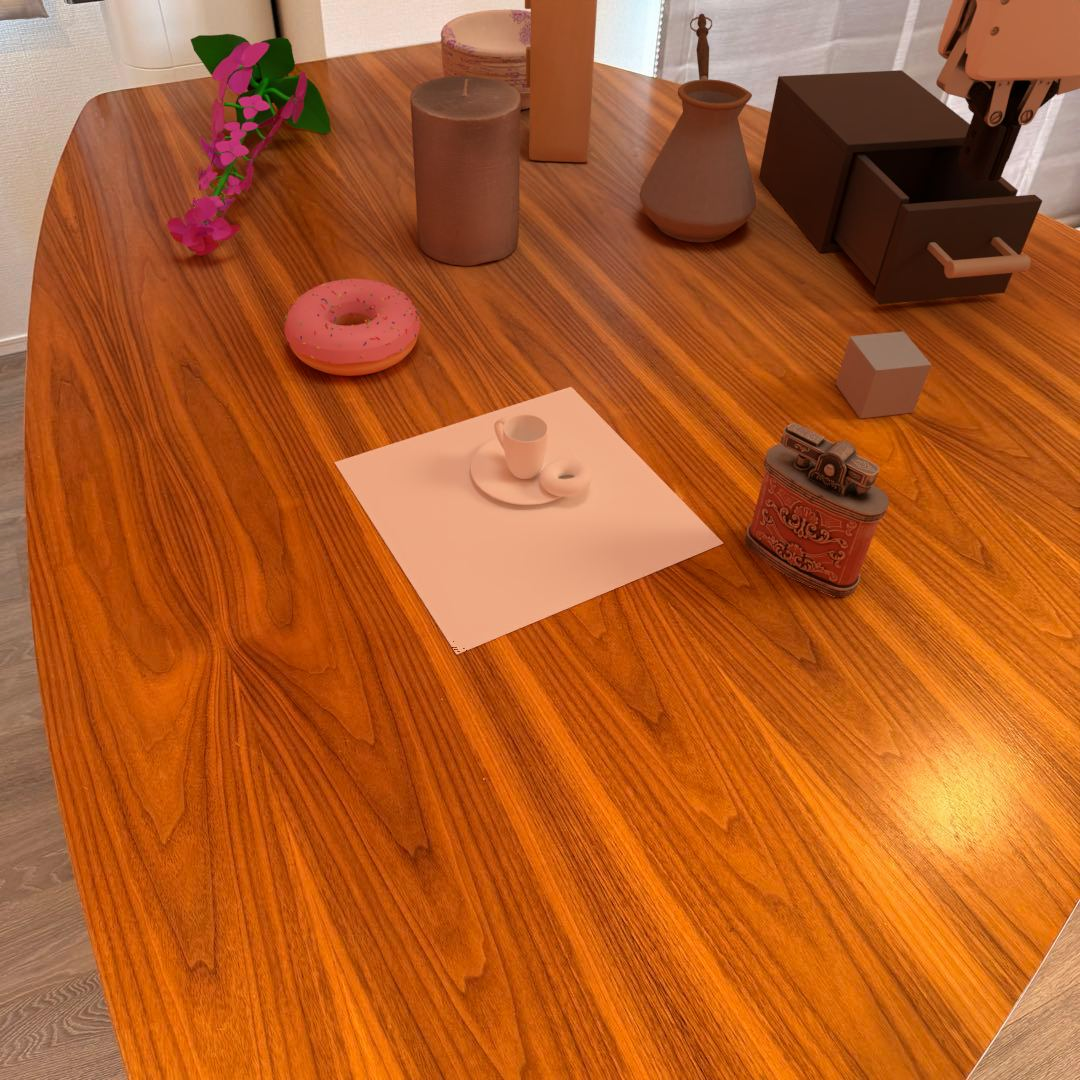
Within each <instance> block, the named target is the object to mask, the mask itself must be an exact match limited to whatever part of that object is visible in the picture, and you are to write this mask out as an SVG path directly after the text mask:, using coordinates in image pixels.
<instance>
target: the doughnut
mask: <svg viewBox="0 0 1080 1080" xmlns="http://www.w3.org/2000/svg"><path fill="white" fill-rule="evenodd" d="M419 315H420V314H419V310H418V309H416V307H415V304H414V302H413V301H412V300H411V299H410V297H408V295H406V292H403V291H401V289H398V288H397V287H395V286H393V285H390V284H388V283H385V282H383V281H382V280H380V281H378V280H373V279H369V278H352V277H350V278H344V279H343V278H342V277H341V278H340V279H337V280H332V281H328V282H325V283H322V284H319V285H316V286H313V285H311V288H310V289H309V290H307V291H306V292H304V293H302V294H301V295H299V297H298V296H296V299H295V301H294V302H293V303H291V304H290V307H289V311H288V312H287V315H284V319H285V321H284V322H285V323H284V328H282V330H283V331H284V336H285V339H286V341H287V343H288V345H289V346H290V350H291V351H292V352H293V354H294V355H295V356H296V357H297V358H298V359H299V360H300V361H301V362H302V363H304V364H306V365H307V366H309V367H310V368H312V369H314V370H317V371H320V372H322V373H326V374H330V375H334V376H335V375H336V376H347V377H348V376H349V377H355V376H356V377H357V376H364V375H369V374H370V375H371V374H375V373H378V372H383V371H385V370H386V369H389V368H391V367H393V366H394V365H397V364H398V363H400V362H401V361H402V360H404V359H405V358H406V357H407V356H408V355H409V354H410V353H411V352H412V350H413V348H414V347H415V346H416V344H417V341H418V338H419V332H420V327H421V319H420V317H419Z"/></svg>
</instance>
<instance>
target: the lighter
mask: <svg viewBox="0 0 1080 1080" xmlns="http://www.w3.org/2000/svg"><path fill="white" fill-rule="evenodd" d="M763 468H764V473H763V477H762V481H761V484H760V485H761V486H760V488H759V493H758V497H757V501H756V504H755V509H754V512H753V517H752V520H751V523H750V524H749V525H748V526H747V529H746V533H745V537H744V542H745V545H746V547H747V549H749V550H750V552H752V553H754V554H755V555H756V556H757V557H758V558H760V559H761V560H762V561H764V562H765V563H766V564H767V565H769V566H770V567H772V566H773V567H772V568H773V569H775V570H777V571H778V572H780V573H781V572H782V573H781V574H783V575H784V574H785V575H784V576H786V577H788V578H790V577H791V578H790V579H792V580H793V579H794V580H793V581H795V580H797V581H799V582H803V583H804V584H805V585H808V586H811V587H813V588H815V589H817V590H819V591H822V592H824V593H827V594H830V595H832V596H835V597H837V598H836V599H839V598H838V597H846V596H849V595H850V596H852V595H853V594H854V593H855V592H856V590H857V588H858V586H859V583H860V579H861V574H860V572H861V569H862V567H863V564H864V562H865V559H866V556H867V554H868V551H869V549H870V546H871V543H872V540H873V538H874V536H875V532H876V531H877V527H878V525H879V523H880V520H882V519H883V518H884V517H885V515H886V512H887V510H888V508H889V505H890V499H889V497H888V495H887V493H885V492H884V491H883V490H882V489H881V488H879V487H878V486H876V485H875V482H876V480H877V477H878V475H879V472H880V466H878V465H877V464H876V463H874V462H873V461H871V460H868V459H866V458H864V457H862V456H861V455H859V454H858V453H857V449H856V447H855V446H854V444H852V443H851V442H849V441H847V440H841V439H840V440H838V441H837V442H832V441H830V440H828V439H826V437H825V436H823V435H821V434H819V433H816V432H815V431H813V430H810V429H809V428H807V427H805V426H803V425H800V424H799V423H796V422H792V423H789V424H788V425H786V426H785V427H784V428H783V431H782V436H781V439H780V443H778V444H774V445H772V446H771V447H769V448H768V450H767V451H766V453H765V458H764V462H763ZM797 581H796V582H797ZM799 582H798V583H799ZM805 585H804V586H805ZM819 591H818V592H819ZM853 592H854V593H853ZM851 594H852V595H851ZM850 596H849V597H850ZM846 598H847V597H846Z"/></svg>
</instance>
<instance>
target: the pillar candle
mask: <svg viewBox="0 0 1080 1080" xmlns="http://www.w3.org/2000/svg"><path fill="white" fill-rule="evenodd" d="M520 99H521V97H520V95H519V93H518V92H517V90H516V89H515V88H514V87H512V86H510V85H508V84H506V83H503V82H500V81H497V80H493V79H490V78H484V77H475V76H473V77H472V76H453V77H445V76H444V77H437V78H434V79H430V80H427V81H425V82H422V83H420V84H418V85H417V86H416V87H414V89H413V90H412V91H411V94H410V98H409V100H410V117H411V136H412V157H413V170H414V172H413V174H414V188H415V189H414V190H415V206H416V207H415V208H416V224H417V225H416V226H417V227H416V228H417V241H418V246H419V248H420V249H421V251H422V252H423V253H424V254H425V255H426V256H428V257H430V258H432V259H434V260H436V261H439V262H441V263H446V264H448V265H453V266H461V267H472V266H477V265H480V264H484V263H485V264H486V263H490V262H495V261H500V260H503V259H505V258H507V257H509V256H511V254H513V253H514V251H515V250H516V249H517V246H518V243H519V231H520V230H519V229H520V228H519V227H520V204H521V203H520V202H521V201H520V195H521V194H520V171H521V170H520V168H521V164H520V162H521V161H520V159H521V158H520V157H521V110H520V109H521V100H520Z"/></svg>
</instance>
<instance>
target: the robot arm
mask: <svg viewBox="0 0 1080 1080" xmlns="http://www.w3.org/2000/svg"><path fill="white" fill-rule="evenodd" d="M937 52H938V54H939V55H940V56H941V57H942V59H945V60H946V61H945V63H944V65H943V67H942V69H941V71H940V73H939V75H938V77H937V78H936V86H937V87H938V88H939V89H940V90H941V91H943V92H945V94H947V95H950V96H955V97H958V98H961V99H965V101H966V103H967V108H968V110H969V111H970V112H971V113H972V114H973V115H972V117H971V120H970V123H969V124H970V126H969V129H968V132H967V134H966V137H965V140H964V143H963V146H962V149H961V152H960V159H959V166H960V167H961V168H962V169H963V170H964V171H965V172H966V173H968V174H969V175H970V176H971V177H972V178H973V179H974V180H976V181H977V182H983V181H986V180H987V179H988V180H990V181H998V180H1000V178H1001V177H1002V176H1003V173H1004V170H1005V167H1006V166H1007V162H1008V161H1009V160H1010V157H1011V154H1012V152H1013V150H1014V147H1015V144H1016V141H1017V139H1018V136H1019V134H1020V131H1021V129H1022V126H1026V125H1029V124H1030V123H1031V122H1032V121H1033V120H1034V118H1035V116H1036V115H1037V113H1038V112H1039V109H1041V108H1042V107H1043V106H1045V104H1046V103H1048V102H1050V100H1051V99H1053V98H1054V97H1055V96H1056V95H1057V96H1060V95H1063V94H1066V93H1070V92H1074V91H1077V90H1079V89H1080V0H952V1H951V4H950V7H949V9H948V12H947V15H946V19H945V21H944V24H943V26H942V30H941V33H940V36H939V40H938V44H937Z"/></svg>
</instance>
